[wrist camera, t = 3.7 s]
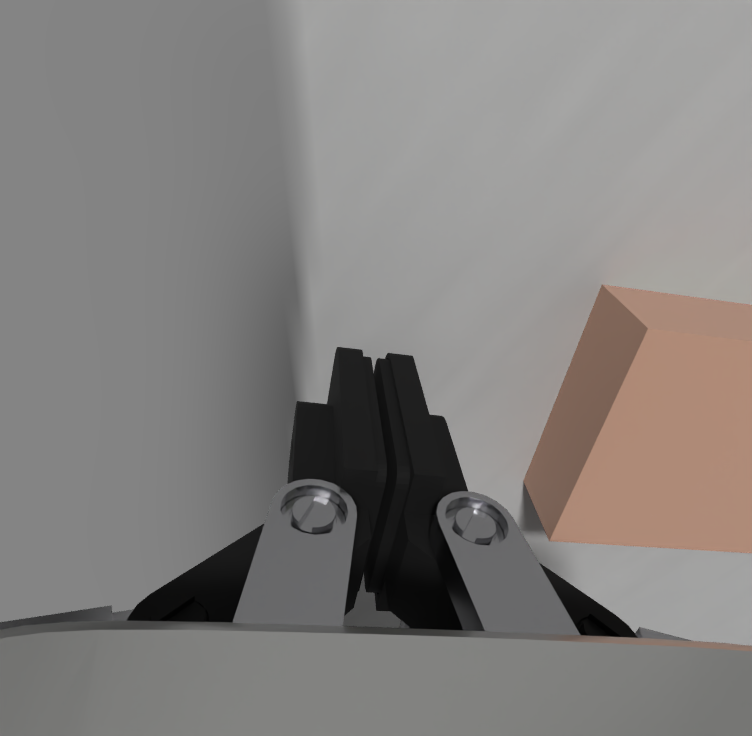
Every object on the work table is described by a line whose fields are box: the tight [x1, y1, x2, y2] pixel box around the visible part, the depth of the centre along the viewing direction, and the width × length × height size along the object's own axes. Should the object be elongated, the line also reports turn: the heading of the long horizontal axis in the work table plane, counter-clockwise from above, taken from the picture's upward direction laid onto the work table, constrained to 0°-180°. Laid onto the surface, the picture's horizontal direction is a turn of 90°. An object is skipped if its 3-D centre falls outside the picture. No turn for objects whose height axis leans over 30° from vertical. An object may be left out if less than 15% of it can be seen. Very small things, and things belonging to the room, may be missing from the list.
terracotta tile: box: [524, 285, 752, 553], centre depth 14 cm, size 6×6×2 cm
